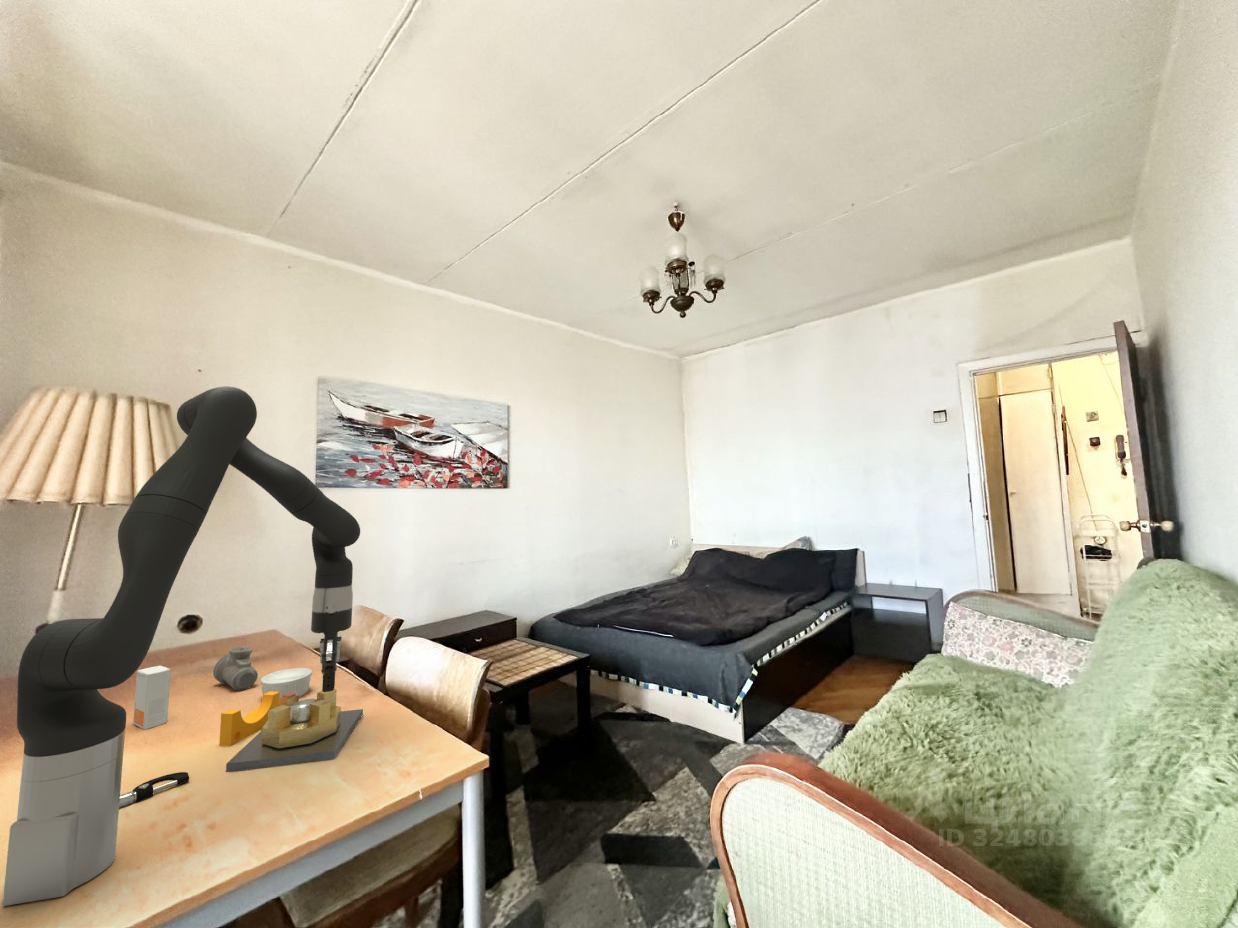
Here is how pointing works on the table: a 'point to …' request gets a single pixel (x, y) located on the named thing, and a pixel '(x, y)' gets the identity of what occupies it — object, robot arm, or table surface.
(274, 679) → the ramekin
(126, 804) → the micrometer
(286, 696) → the ring nut
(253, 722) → the pipe clamp
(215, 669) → the pipe fitting
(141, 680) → the skincare box
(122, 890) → the table surface
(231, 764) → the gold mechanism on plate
